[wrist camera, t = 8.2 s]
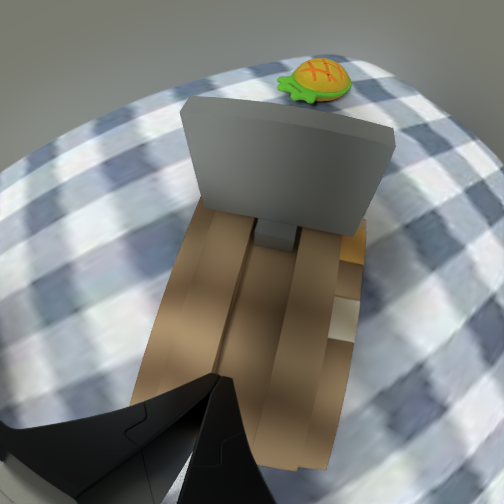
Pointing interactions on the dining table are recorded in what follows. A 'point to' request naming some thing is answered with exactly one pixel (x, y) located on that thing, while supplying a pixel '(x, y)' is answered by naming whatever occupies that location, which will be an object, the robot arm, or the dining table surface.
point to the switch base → (262, 330)
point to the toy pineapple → (316, 81)
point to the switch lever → (285, 165)
